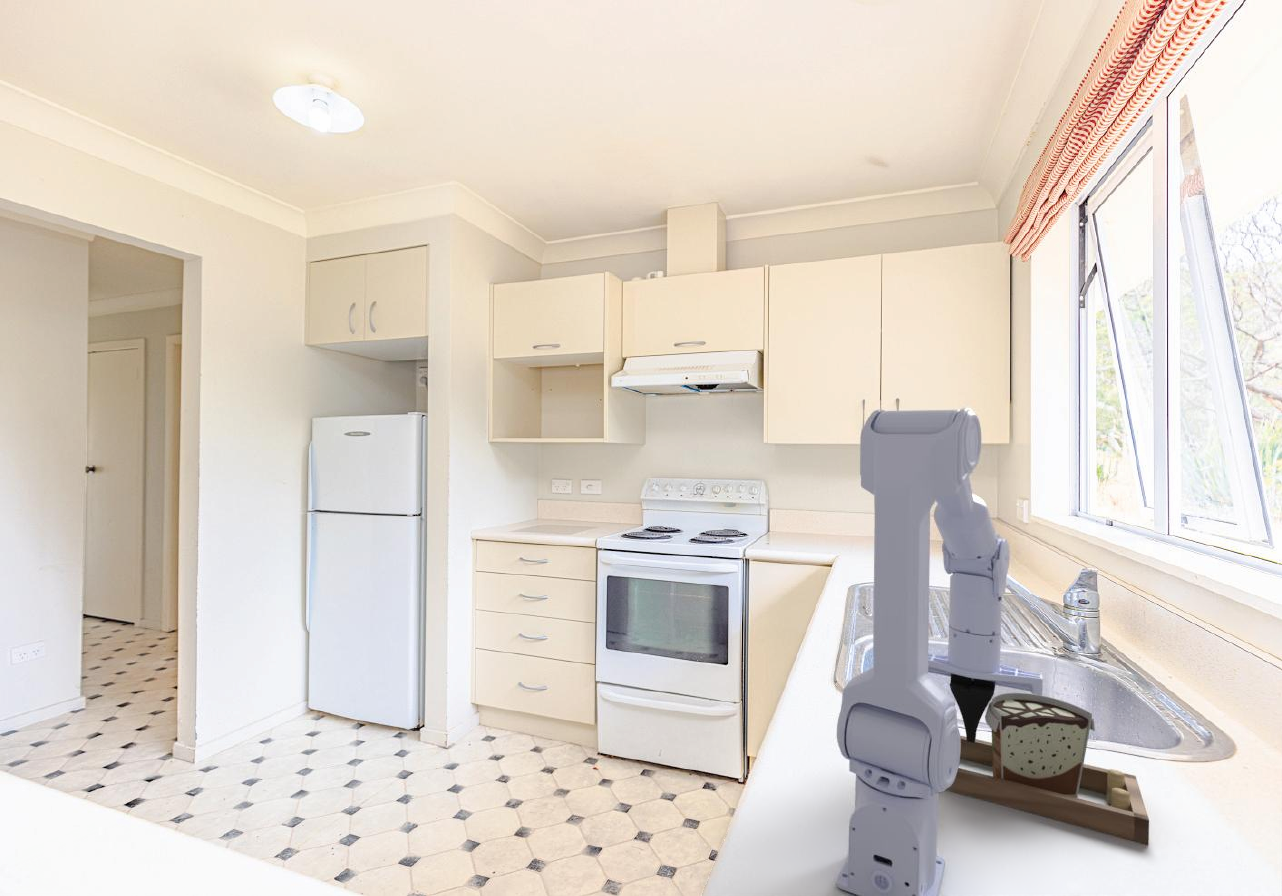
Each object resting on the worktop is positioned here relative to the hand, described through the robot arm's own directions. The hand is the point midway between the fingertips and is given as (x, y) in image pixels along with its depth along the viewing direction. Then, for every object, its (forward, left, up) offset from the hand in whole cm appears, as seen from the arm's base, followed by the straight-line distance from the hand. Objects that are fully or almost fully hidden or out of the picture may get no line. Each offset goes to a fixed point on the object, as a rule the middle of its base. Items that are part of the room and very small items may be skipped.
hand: (971, 739), depth 80 cm
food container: (+1, -6, -4) cm, 7 cm away
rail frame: (0, -7, -4) cm, 8 cm away
